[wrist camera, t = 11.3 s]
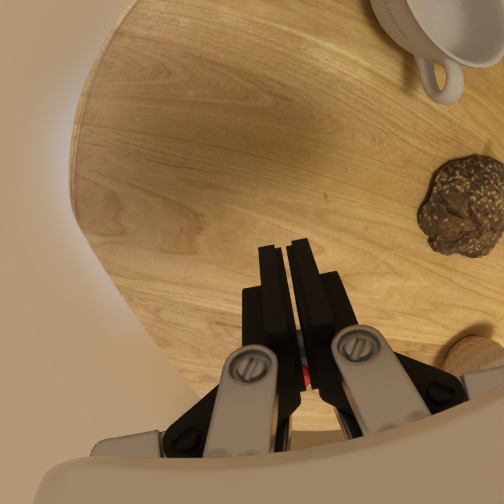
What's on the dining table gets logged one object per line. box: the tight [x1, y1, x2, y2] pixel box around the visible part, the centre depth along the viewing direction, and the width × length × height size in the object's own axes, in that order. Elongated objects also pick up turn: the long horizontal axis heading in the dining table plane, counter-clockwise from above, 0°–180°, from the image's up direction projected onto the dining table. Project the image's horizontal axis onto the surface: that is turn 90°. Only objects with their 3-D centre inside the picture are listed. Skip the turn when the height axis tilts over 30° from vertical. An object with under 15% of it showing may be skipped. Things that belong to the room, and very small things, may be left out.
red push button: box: [302, 365, 310, 387], centre depth 36 cm, size 4×4×2 cm
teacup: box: [370, 0, 504, 105], centre depth 15 cm, size 14×11×8 cm
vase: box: [443, 336, 504, 377], centre depth 35 cm, size 13×13×17 cm
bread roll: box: [418, 156, 504, 258], centre depth 26 cm, size 13×12×5 cm
